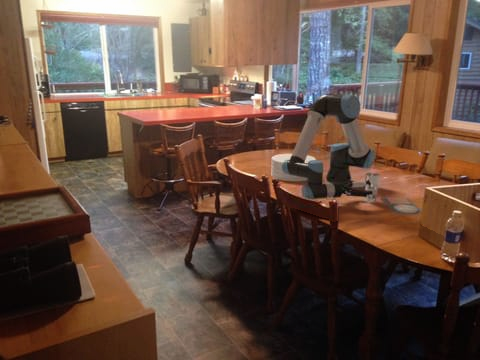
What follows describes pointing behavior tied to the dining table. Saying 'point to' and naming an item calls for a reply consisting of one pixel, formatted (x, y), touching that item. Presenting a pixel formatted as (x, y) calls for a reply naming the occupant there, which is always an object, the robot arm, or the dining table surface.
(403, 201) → the square tile
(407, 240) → the dining table surface
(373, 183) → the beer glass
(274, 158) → the plate stack
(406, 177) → the dining table surface
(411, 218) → the dining table surface
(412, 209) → the round coaster
